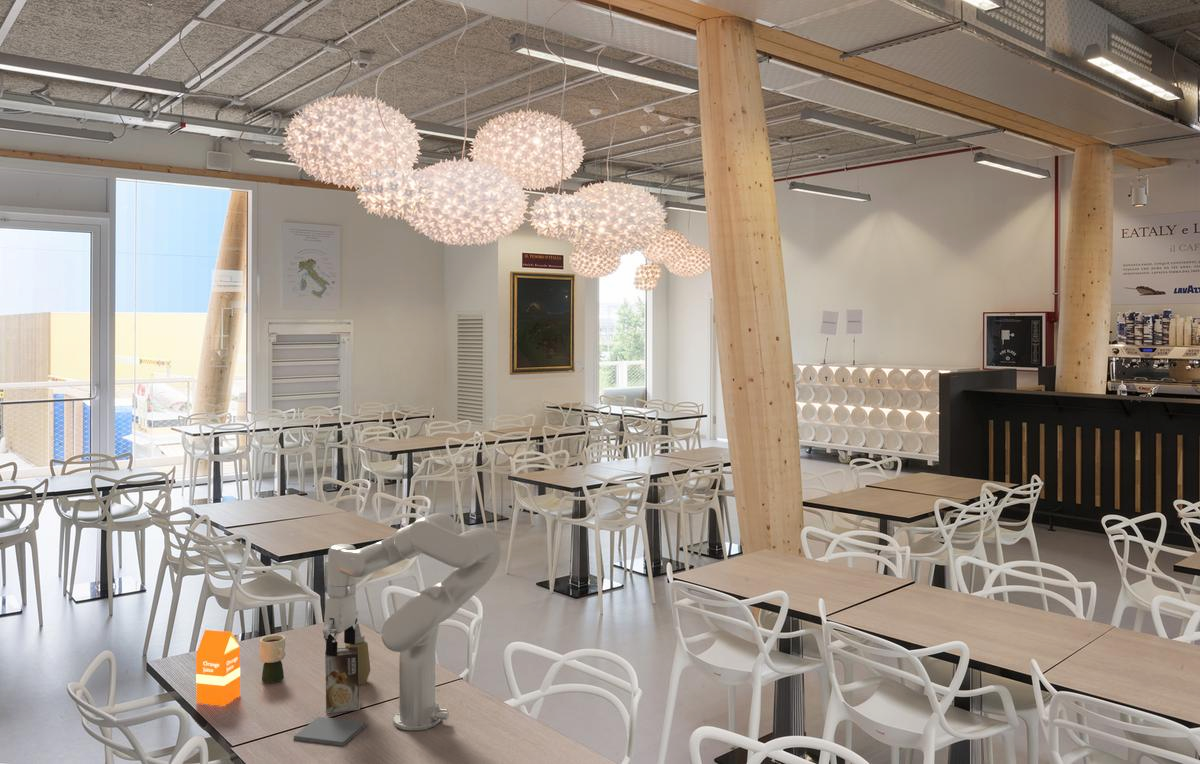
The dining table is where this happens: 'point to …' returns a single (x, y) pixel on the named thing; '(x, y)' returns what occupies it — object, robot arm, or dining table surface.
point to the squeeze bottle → (361, 655)
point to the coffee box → (342, 680)
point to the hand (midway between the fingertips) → (340, 649)
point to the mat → (330, 731)
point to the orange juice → (218, 668)
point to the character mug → (272, 657)
